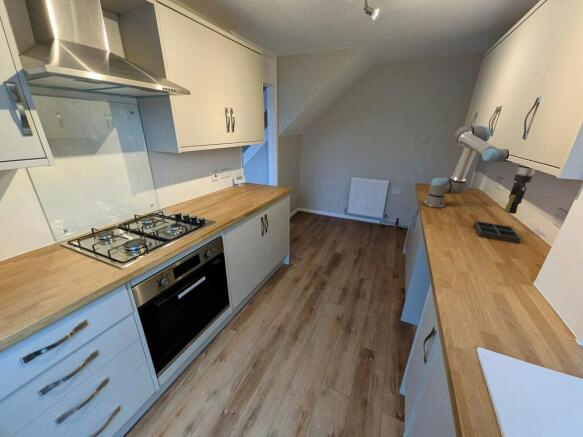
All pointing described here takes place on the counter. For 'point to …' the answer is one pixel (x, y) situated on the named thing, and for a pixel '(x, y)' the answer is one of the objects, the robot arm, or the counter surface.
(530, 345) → the counter surface
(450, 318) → the counter surface
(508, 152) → the robot arm
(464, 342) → the counter surface
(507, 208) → the cork
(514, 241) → the grid
